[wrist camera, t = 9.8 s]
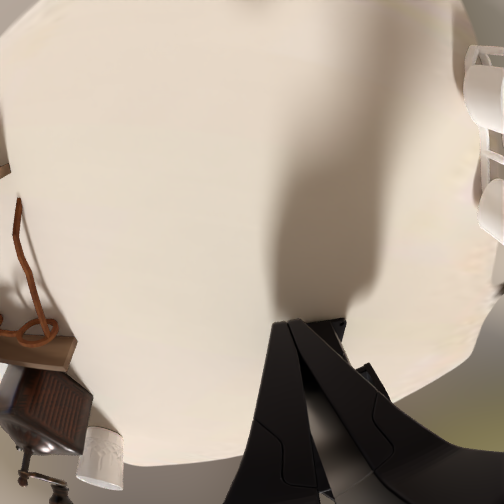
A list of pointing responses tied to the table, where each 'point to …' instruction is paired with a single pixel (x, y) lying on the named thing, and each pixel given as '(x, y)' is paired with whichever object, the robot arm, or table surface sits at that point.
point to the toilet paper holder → (487, 117)
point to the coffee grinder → (44, 418)
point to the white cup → (102, 459)
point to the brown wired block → (43, 357)
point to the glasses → (34, 294)
